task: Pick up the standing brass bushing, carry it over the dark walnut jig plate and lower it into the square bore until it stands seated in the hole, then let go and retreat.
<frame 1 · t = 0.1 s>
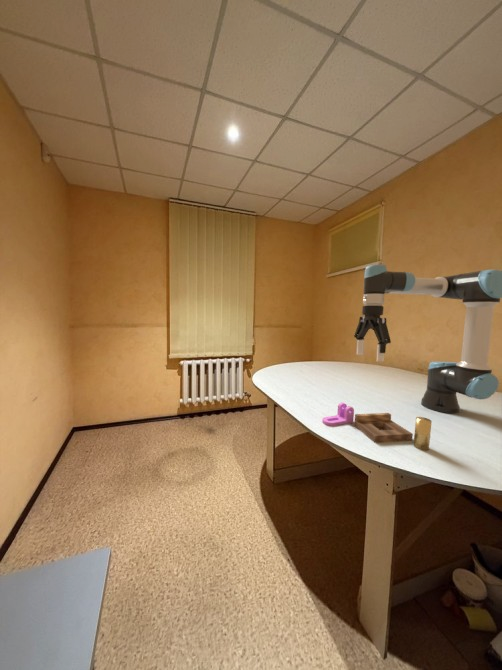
hand: (369, 358, 100), 28 cm above the table, fingers open, 13 cm apart
jig: (381, 432, 95), on the table
bracket: (336, 422, 104), on the table
bushing: (421, 447, 85), on the table
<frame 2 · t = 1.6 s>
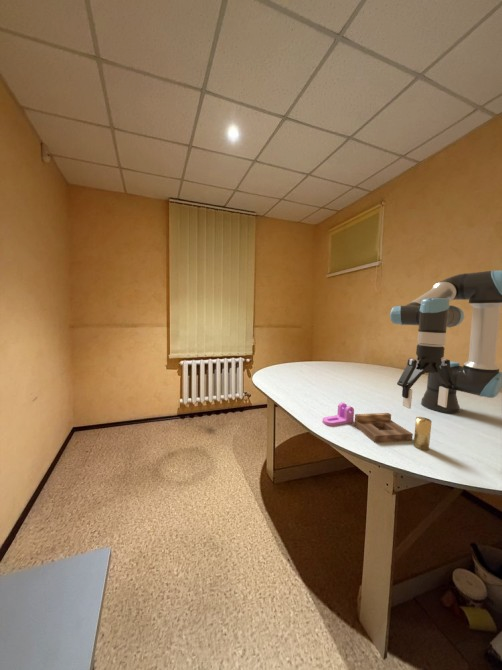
hand: (424, 406, 84), 15 cm above the table, fingers open, 13 cm apart
nothing on the table moved.
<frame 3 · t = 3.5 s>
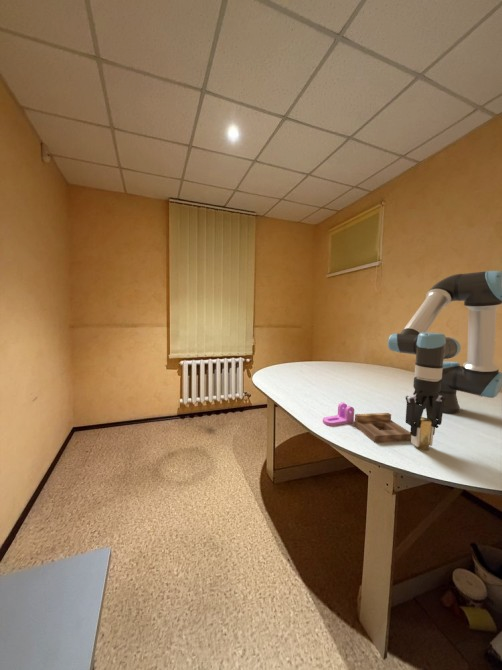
hand: (421, 443, 85), 1 cm above the table, fingers closed on bushing, 4 cm apart
bushing: (421, 447, 85), on the table, touching gripper
everything else where it was.
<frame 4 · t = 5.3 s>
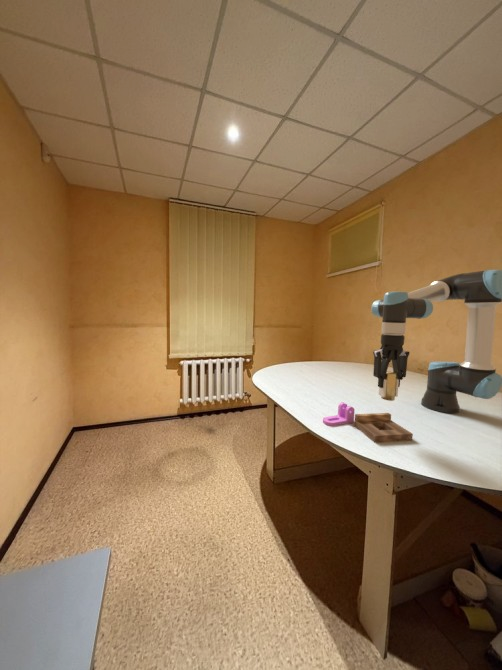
hand: (388, 395, 93), 15 cm above the table, fingers closed on bushing, 4 cm apart
bushing: (387, 398, 93), point 14 cm above the table, touching gripper
everything else where it was.
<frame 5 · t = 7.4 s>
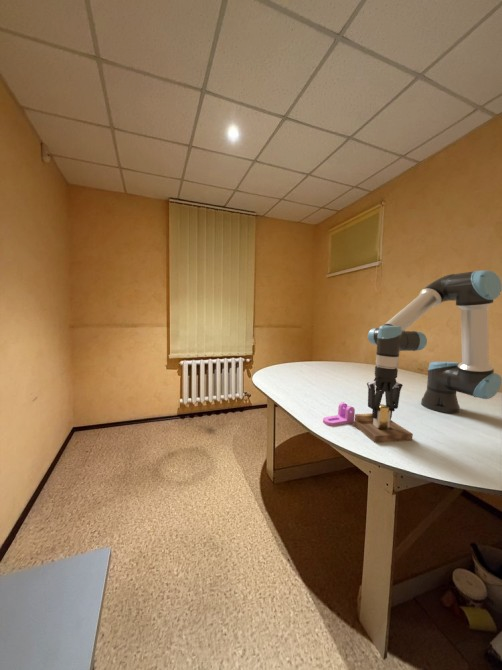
hand: (381, 425, 95), 3 cm above the table, fingers closed on bushing, 3 cm apart
bushing: (380, 431, 95), point 1 cm above the table, touching gripper
everything else where it was.
when the fingers open (3 cm above the table, at t = 8.6 s): bushing stays where it is, resting in jig.
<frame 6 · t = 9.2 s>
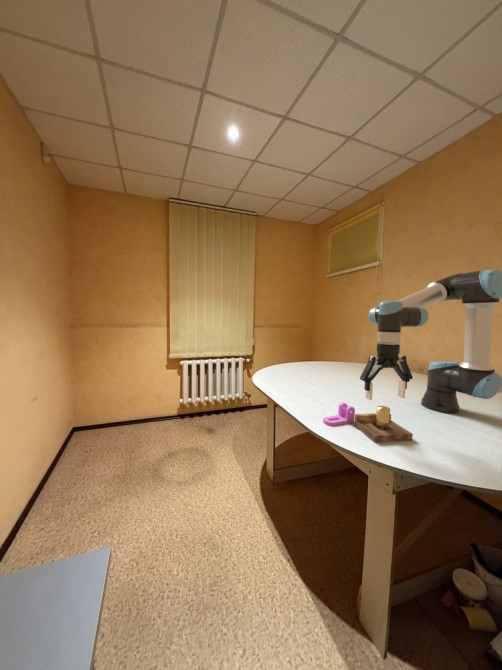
hand: (385, 398, 94), 14 cm above the table, fingers open, 13 cm apart
bushing: (381, 432, 95), resting in jig
everything else where it was.
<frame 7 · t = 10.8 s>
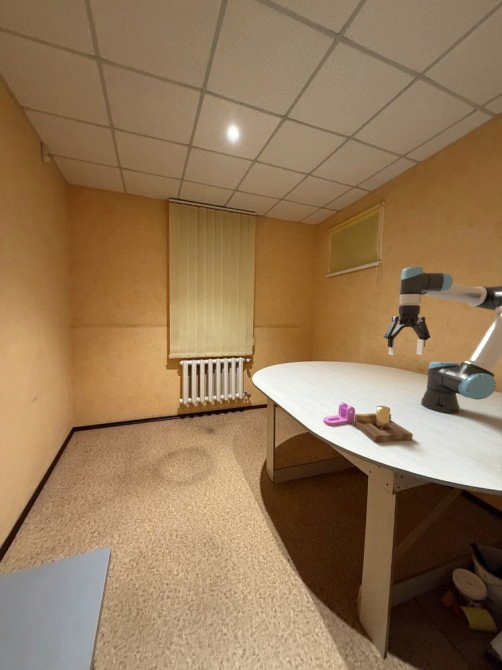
hand: (405, 354, 105), 29 cm above the table, fingers open, 13 cm apart
nothing on the table moved.
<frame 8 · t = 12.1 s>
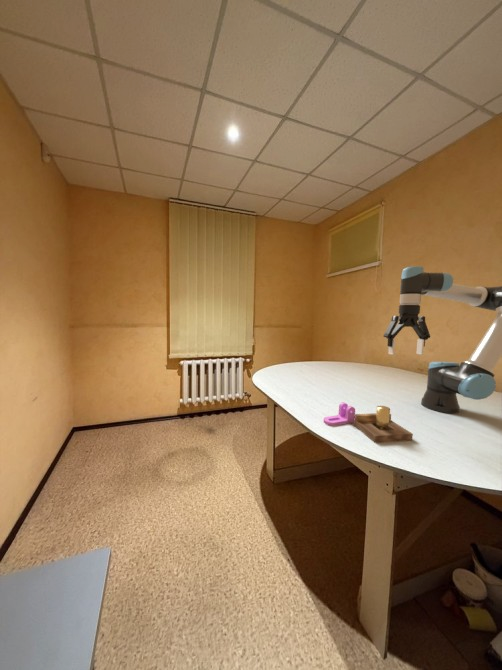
hand: (405, 354, 106), 29 cm above the table, fingers open, 13 cm apart
nothing on the table moved.
at the end: bushing 0.1 cm off-centre on the jig, point 0.0 cm above the jig's base; bushing tilted 0°; the gripper is holding nothing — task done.
